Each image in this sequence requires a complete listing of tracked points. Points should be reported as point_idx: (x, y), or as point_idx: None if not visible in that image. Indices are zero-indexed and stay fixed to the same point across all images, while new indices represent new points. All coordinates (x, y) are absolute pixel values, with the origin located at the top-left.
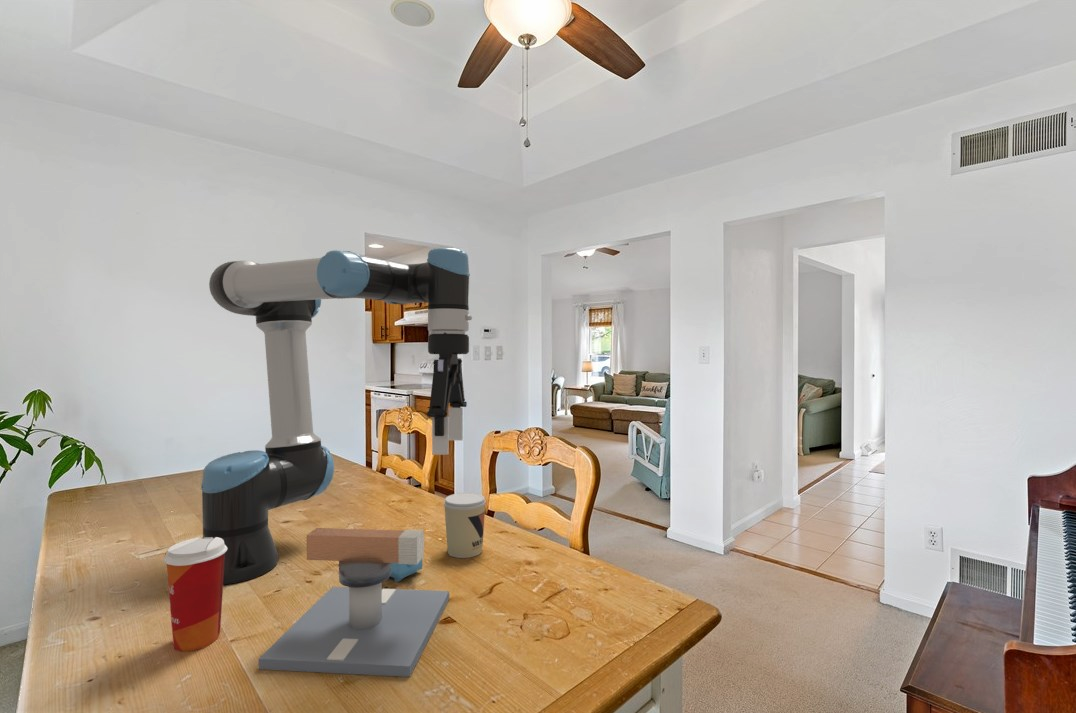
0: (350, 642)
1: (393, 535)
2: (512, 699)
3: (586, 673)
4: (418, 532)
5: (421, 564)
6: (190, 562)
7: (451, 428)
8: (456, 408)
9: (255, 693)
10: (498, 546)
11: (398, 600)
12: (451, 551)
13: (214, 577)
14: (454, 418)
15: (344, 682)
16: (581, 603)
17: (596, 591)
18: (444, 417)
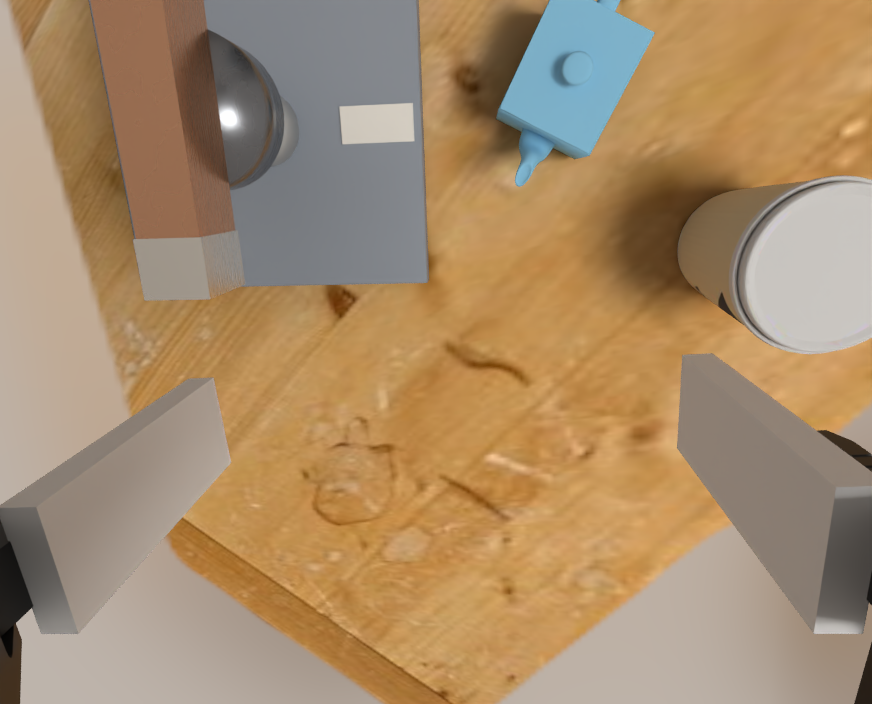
0: None
1: (148, 213)
2: None
3: (232, 546)
4: (188, 288)
5: (573, 157)
6: None
7: (719, 411)
8: (819, 571)
9: (39, 14)
10: None
11: (363, 170)
12: (694, 215)
13: None
14: (757, 483)
15: (112, 173)
16: (443, 545)
17: (497, 574)
18: (35, 606)
